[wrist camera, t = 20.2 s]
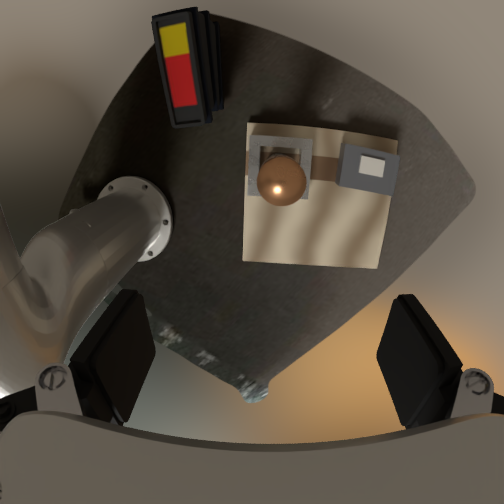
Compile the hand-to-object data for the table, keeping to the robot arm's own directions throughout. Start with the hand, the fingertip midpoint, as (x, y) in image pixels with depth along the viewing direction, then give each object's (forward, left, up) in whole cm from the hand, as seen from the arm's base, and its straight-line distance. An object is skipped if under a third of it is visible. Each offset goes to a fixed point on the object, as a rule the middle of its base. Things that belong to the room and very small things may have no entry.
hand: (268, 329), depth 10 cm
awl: (+1, +3, -27) cm, 27 cm away
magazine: (-8, +14, -28) cm, 32 cm away
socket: (+1, +3, -27) cm, 27 cm away
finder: (+11, +4, -27) cm, 29 cm away
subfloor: (+6, -1, -28) cm, 28 cm away
